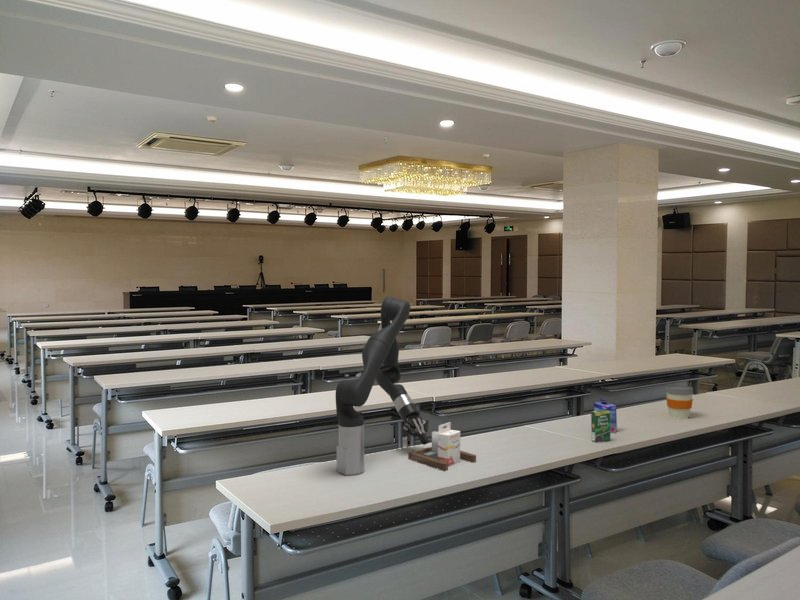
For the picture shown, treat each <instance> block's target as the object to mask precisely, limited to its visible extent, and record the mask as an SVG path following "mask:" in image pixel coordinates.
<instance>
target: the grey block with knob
mask: <svg viewBox="0 0 800 600" xmlns="http://www.w3.org/2000/svg"><path fill="white" fill-rule="evenodd" d="M431 447H432V451H431V452H427V453H423V455H425V456H428V457H431V458H434V459H437V460H438V431H435V430H434V431H431Z"/></svg>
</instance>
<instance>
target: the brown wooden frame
mask: <svg viewBox="0 0 800 600" xmlns="http://www.w3.org/2000/svg"><path fill="white" fill-rule="evenodd" d="M431 451H432V446H428V447H424V448H420V449H417V450H413V451H412V450H411V451H408V453H407V454H408V455H407V456H408V457H407V458H408V460H411V461H414V462H416V461H417V462H416V463H419V462H420V464H422V463H423V465H425V464H426V466H428V465H429V467H431V466H432V467H431V468H434V467H435V468H434V469H437V468H438V470H440V469H441V470H440V471H443V470H444V472H445V470H446V471H448V470H449V466H448V463H446V462H443V461H440V460H438V459H434V458H431V457H428V456H425V455H423V453H427V452H431ZM462 459H463V460H464V461H465V460H466V461H465V462H469V461H470V462H469V463H472V462H473V463H476V462H477V455H476V454H474V453H470V452H468V451H463V450H460V460H462ZM463 460H462V461H463ZM475 461H476V462H475Z"/></svg>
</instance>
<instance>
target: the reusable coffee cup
mask: <svg viewBox="0 0 800 600" xmlns="http://www.w3.org/2000/svg"><path fill="white" fill-rule="evenodd" d="M665 393H666V398H665V400H666V406H667V408H668V415H670V416H671V417H676V418H688V417H689V418H690V414H691V409H692V408H693V407H692V406H693V395H694V388H693V387H692V386H688V385H680V384H670V385H666V386H665ZM670 416H669V417H670ZM671 417H670V418H671ZM676 418H675V419H676ZM689 418H688V419H689Z"/></svg>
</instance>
